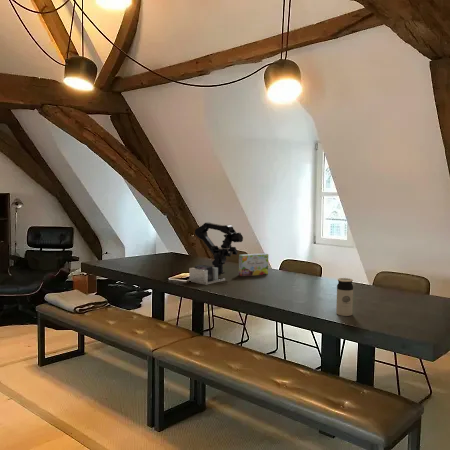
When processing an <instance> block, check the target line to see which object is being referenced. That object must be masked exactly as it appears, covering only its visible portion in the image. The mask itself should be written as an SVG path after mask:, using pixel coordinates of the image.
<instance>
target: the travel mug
mask: <svg viewBox="0 0 450 450" xmlns="http://www.w3.org/2000/svg"><path fill="white" fill-rule="evenodd" d="M337 281H338V283H337V285H336V314H337V315H338V316H342V317H349V316H352V315H353V309H354V308H353V305H354V304H353V303H354V302H353V301H354V285H353V281H354V280H353V279H352V278H348V277H347V278H346V277H340V278H337Z"/></svg>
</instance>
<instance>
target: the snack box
mask: <svg viewBox="0 0 450 450" xmlns="http://www.w3.org/2000/svg"><path fill="white" fill-rule="evenodd" d="M263 274H266V275H268V274H269V254H268V253H266V252H264V253H250V254H249V253H246V254H245V253H243V254H238V275H239V276H240V277H250V276H252V277H253V276H264V275H263Z"/></svg>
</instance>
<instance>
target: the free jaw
mask: <svg viewBox="0 0 450 450" xmlns="http://www.w3.org/2000/svg"><path fill="white" fill-rule="evenodd" d="M218 279H219V274H218V268H216V267H214V266H213V268H212V281H213V280H218Z"/></svg>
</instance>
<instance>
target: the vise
mask: <svg viewBox="0 0 450 450" xmlns="http://www.w3.org/2000/svg"><path fill="white" fill-rule="evenodd" d="M188 272H189V277H188V278H187V281H188V280H189V281H191V282H190V283H195V284H200V285H210V284H211V285H212V284H215V283H216V284H217V283H221V282H225V281H226V278H225V277H223V278H218V280H213V281H209V282H208V270H204V269H198V268H195V267H189V269H188ZM189 281H188V282H189Z"/></svg>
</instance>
